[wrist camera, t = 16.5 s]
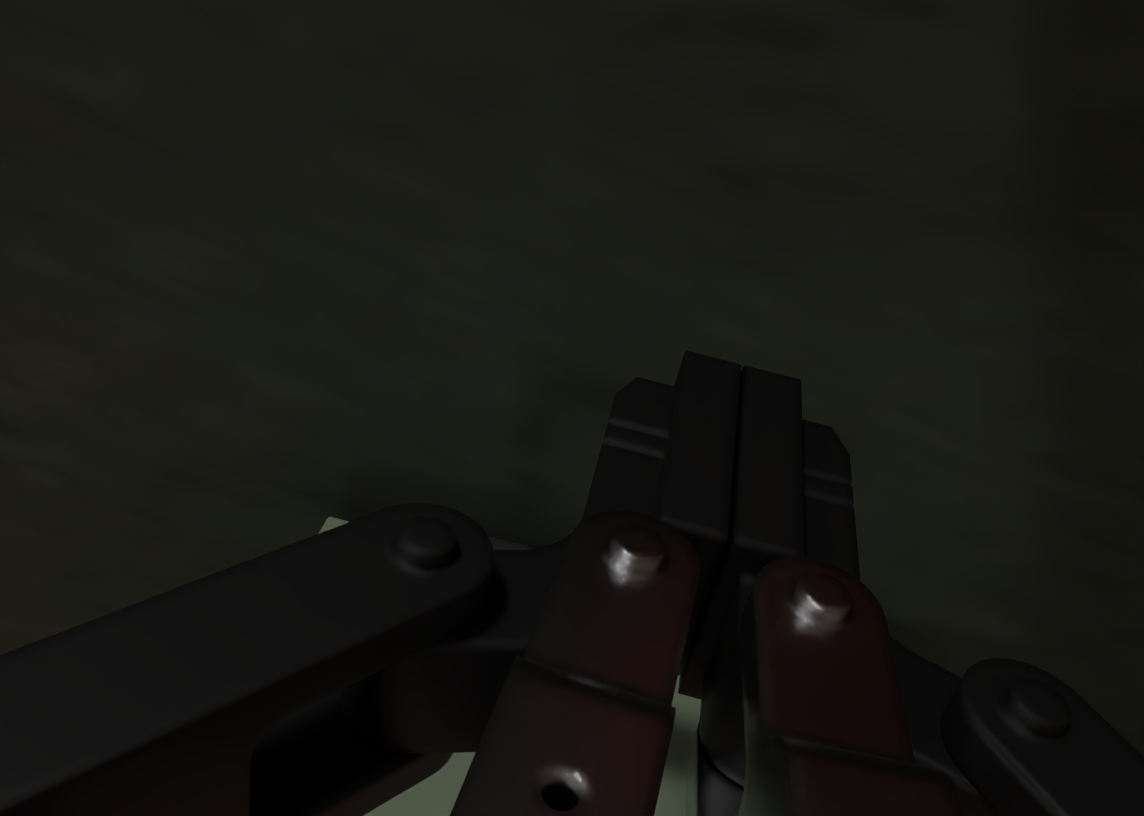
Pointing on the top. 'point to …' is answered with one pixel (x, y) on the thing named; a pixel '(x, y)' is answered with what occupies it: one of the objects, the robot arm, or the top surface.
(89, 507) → the top surface
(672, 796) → the drawer
